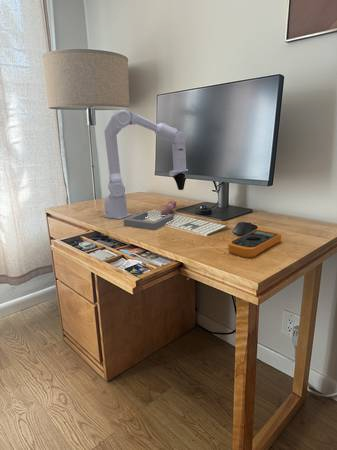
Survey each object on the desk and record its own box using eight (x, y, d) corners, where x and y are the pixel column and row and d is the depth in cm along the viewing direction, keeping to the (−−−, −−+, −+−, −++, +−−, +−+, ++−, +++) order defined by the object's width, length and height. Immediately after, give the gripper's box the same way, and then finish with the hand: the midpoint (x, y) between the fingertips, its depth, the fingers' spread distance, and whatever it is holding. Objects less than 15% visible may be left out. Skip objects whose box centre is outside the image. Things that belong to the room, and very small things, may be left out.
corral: (124, 225, 123) (123, 219, 123) (144, 217, 134) (143, 211, 133) (154, 230, 115) (154, 223, 114) (173, 221, 125) (173, 215, 125)
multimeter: (225, 253, 91) (224, 242, 90) (257, 237, 103) (257, 227, 102) (250, 260, 85) (251, 249, 84) (282, 242, 97) (282, 232, 96)
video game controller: (169, 220, 132) (175, 206, 130) (159, 215, 133) (165, 201, 130) (173, 214, 142) (179, 200, 139) (164, 209, 142) (170, 196, 139)
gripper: (178, 161, 130) (180, 193, 134) (195, 157, 141) (196, 187, 145) (164, 161, 134) (166, 192, 137) (181, 157, 145) (183, 186, 149)
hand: (180, 189), depth 142 cm, fingers closed
